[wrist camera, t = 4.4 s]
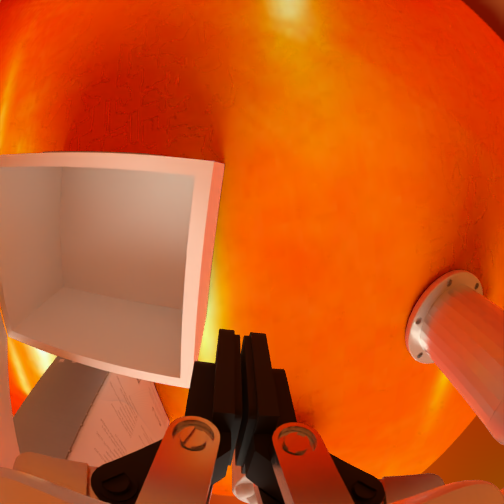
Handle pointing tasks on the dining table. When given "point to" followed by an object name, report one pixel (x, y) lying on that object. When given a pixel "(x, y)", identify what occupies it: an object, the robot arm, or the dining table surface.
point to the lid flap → (6, 409)
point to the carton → (109, 257)
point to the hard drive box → (89, 414)
